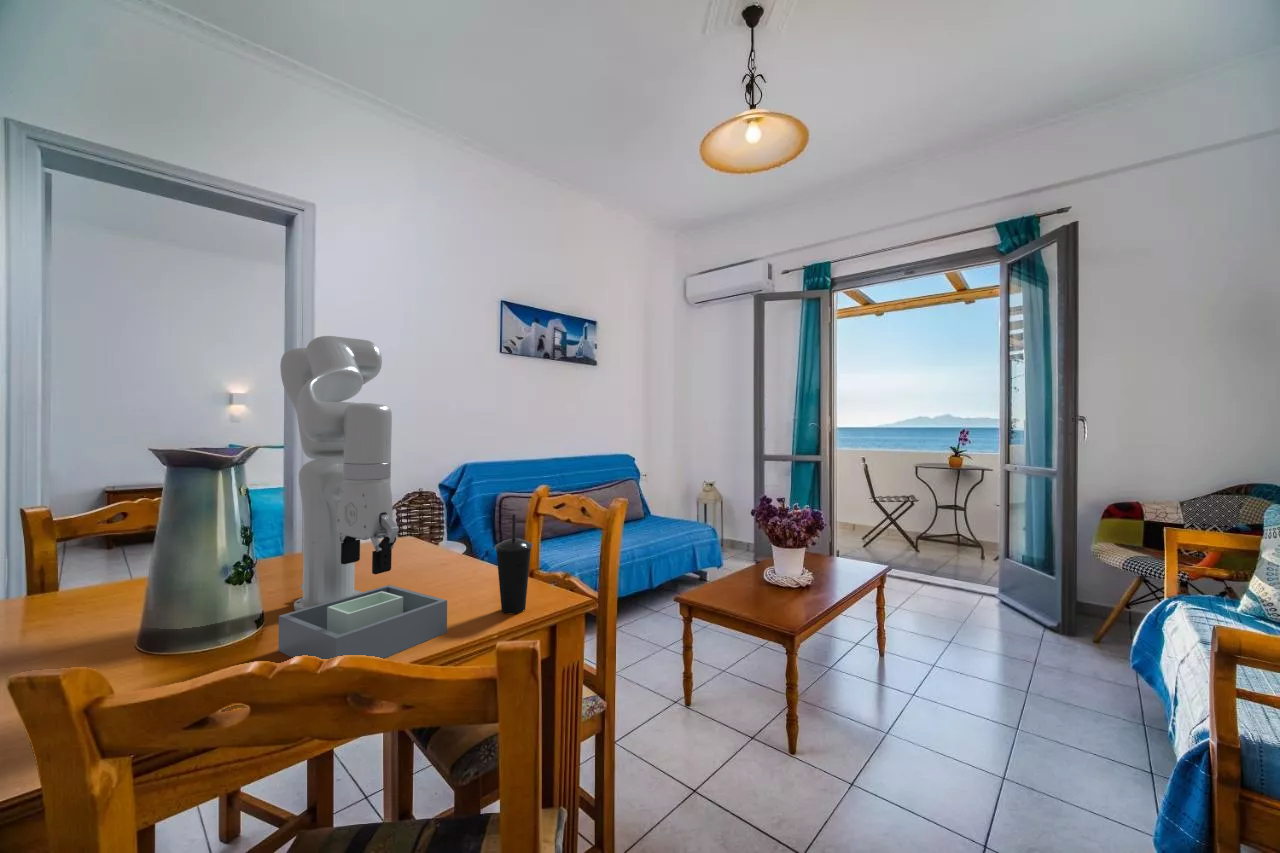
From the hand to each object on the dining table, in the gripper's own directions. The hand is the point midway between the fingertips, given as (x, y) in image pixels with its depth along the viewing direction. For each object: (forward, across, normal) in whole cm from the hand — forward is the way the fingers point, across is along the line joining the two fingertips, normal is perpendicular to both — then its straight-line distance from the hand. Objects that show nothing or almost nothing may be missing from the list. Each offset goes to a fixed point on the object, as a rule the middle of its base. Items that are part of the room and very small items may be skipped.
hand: (365, 567), depth 90 cm
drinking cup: (+13, +12, +25) cm, 31 cm away
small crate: (+12, +1, 0) cm, 12 cm away
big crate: (+13, +1, 0) cm, 13 cm away
